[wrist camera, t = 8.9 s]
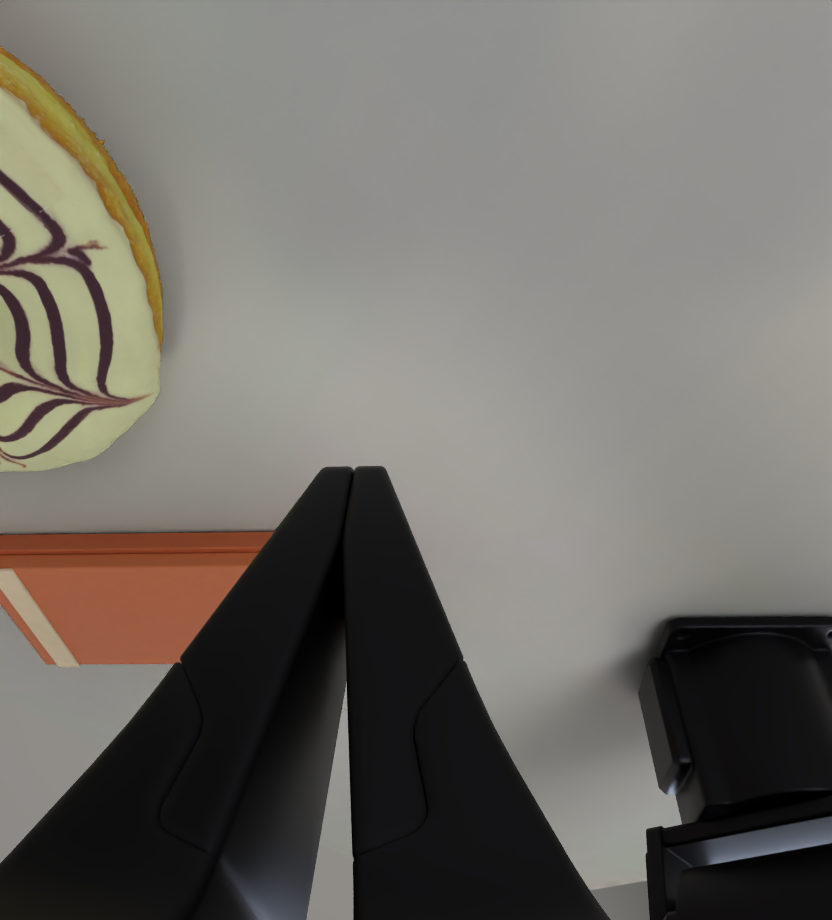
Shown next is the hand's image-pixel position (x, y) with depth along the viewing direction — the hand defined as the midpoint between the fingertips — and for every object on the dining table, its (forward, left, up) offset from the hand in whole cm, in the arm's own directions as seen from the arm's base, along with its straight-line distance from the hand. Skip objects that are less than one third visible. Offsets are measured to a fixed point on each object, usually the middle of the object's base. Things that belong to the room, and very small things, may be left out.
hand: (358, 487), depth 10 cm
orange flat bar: (+7, +14, -9) cm, 18 cm away
